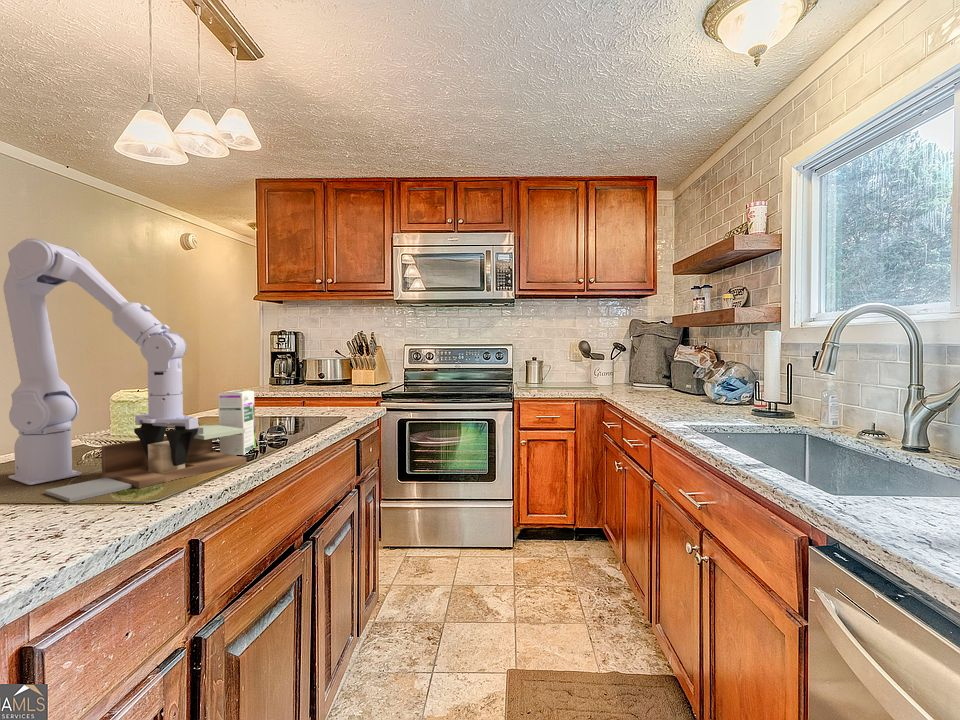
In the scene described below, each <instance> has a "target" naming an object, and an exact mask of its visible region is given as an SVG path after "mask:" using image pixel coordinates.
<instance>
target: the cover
mask: <svg viewBox="0 0 960 720" xmlns="http://www.w3.org/2000/svg"><path fill="white" fill-rule="evenodd" d="M240 433H245V429H242V428H235V427H228V426H221V425H219V424H214V423H213V424H212V423H210V424H203V425H198V432H197V434H196V435H195V437H194V438H196V439H202V440H206V439H212V440H213V439H216V438H217V439H218V438H220V437H223V436H229V435H234V434H240Z"/></svg>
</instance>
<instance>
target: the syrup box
mask: <svg viewBox="0 0 960 720" xmlns="http://www.w3.org/2000/svg"><path fill="white" fill-rule="evenodd" d="M217 398H218V399H217V400H218V401H217V402H218V403H217V404H218V405H217V406H218V425H221V426H228V427H235V428H242V429H245V433H240V434H234V435H229V436H223V437H219V453H225V454H230V455H245V454H246V453H248V452H249V451H250V450H252V449H253V448H256V449H257V442H256V439H257V438H256V437H257V436H256V417H255V416H256V415H255V414H256V411H255V409H256V408H255V407H256V405H255V391H254V390H250V389H249V390H248V389H235V390H230V391H224V392H219V393H217ZM248 454H249V453H248ZM246 455H247V454H246ZM246 455H245V456H246Z"/></svg>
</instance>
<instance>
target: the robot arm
mask: <svg viewBox="0 0 960 720" xmlns="http://www.w3.org/2000/svg"><path fill="white" fill-rule="evenodd" d="M7 255H8V261H9V267H8V270H7V273H6V275H5V279H4V280H3V286H2V287H3V289H2V290H3V294H4V299H5V300H4V301H5V305H6V310H7V315H8V321H9V326H10V331H11V336H12V337H11V338H12V341H13V346H14V352H15V357H16V361H17V369H18V372H19V379H20V383H19V384H18V386H17V387H16V388H15V389H14V390H13V392H12V393H11V395H10V396H11V401H12V402H11V407H10V410H9V412H8V414H9V415H8V418H9V421H10V424H11V425H12V427H13V428H15V429H16V430H17V431H18V435H19V436H18V437H17V438H16V440H15V442H14V448H13V449H14V473H15V474H11V475H8V479H10V480H13V481H17V482H19V483H22V484H25V485H27V486H33V485H38V484H44V483H47V482H49V483H50V482H54V481H59V480H62V479H69V478H72V477H73V478H74V477H79V476H82V475H83V472H82V471H78V470H74V469H73V450H72V447H73V445H72V422H73V421H75V420H76V419H77V418H78V415H79V413H80V407H79V403H78V401H77V399H76V398H74V396H73V395H72V393H71V388H70V385H68V384H67V382H65V381H64V380H63V379H62V378H61V377H60V373H59V369H58V361H57V356H56V351H55V345H54V341H53V334H52V329H51V323H50V319H49V313H48V309H47V308H48V307H47V303H46V296H47V295H48V294H49V293H50V292H51V291H53V290H54V289H55V288H56V287H58V286H61V285H63V284H65V283H67V282H72V283H74V284H76V285H78V286H79V287H81V289H82V290H84V291H85V292H86V293H88V294H89V295H90V296H91V297H93V298H94V299H95V300H97V302H98V303H100V304H101V305H103V306H104V308H106V309H107V310H109V311H110V312H111V313H112V314H111V319H112V323H113V324H114V325H115V326H116V327H117V328H119V329H120V330H121V331H122V332H123V333H124V334H125V335H126V336H128V338H130V340H132V341H133V342H134V343H135V344H137V346H139V349H140V353H141V355H142V357H143V358H144V359H145V360H146V362H147V402H148V403H147V404H148V406H147V408H148V409H147V410H148V411H147V412H148V413H142V414H141V413H140V414H135V415H134V416H135V417H134V421H135V422H134V424H135V425H136V426H140V425H141V426H140V427H135V428H134V429H133V431H134V434H135V435H136V436H137V437H138V440H140V441H141V443H142V445H143V447H144V450H145V453H146V456H147V459H148V444H153V443H159V442H163V439H164V436H167V438H168V441H169V444H170V448H171V457H172V463H173V466H178V465H182V464H185V462H186V458H187V454H188V451H189V448H190V445H191V443H192V440H193V439H194V437H195V435H196V434H197V432H198V426H199V419H198V417H192V416H189V415H185V414H184V398H183V397H184V395H183V391H184V388H183V385H184V384H183V357H184V356H185V354H186V352H187V349H188V348H187V347H188V346H187V343H186V341H185V339H184V338H183V337H182V335H181V334H179V333H178V332H173V331H169V330H170V329H171V327H170V326H169V325H167V324H163V323H162V322H161V321H160V320H158V319H157V317H155V316H154V315H153V314H152V313H151V311H152V308H150V307H149V306H148V305H145V304H141V303H140V302H133V301H132V302H131V301H130V302H129V301H128V300H127V299H126V298H125V297H124V296H123V295H122V294H121V293H120V292H119V291H118V290H117V289H116V288H115V287H114V286H113V285H112V283H110V282H109V280H108V279H106V278H105V277H104V276H103V275H102V273H100V271H98V270H97V269H96V268H95V267H94V265H93V264H92V263H91V262H90V260H88V259H87V258H85V257H83V256H81V254H80V253H79V252H78V251H76V250H75V249H73V248H70V247H67V246H60V245H57V244H53V243H51V242H48V241H47V242H46V241H45V240H42V239H40V238H35V237H34V238H32V237H31V238H25V239H23V240H21V241H20V242H18V243H17V244H16V245H15V246H14V247H12V249H10V250H9V251H8V253H7ZM168 427H169V428H172V429H168Z"/></svg>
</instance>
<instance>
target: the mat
mask: <svg viewBox="0 0 960 720" xmlns="http://www.w3.org/2000/svg"><path fill="white" fill-rule="evenodd" d="M128 489H132V484H128V483H124V482H121V481H117V480H113V479H109V478H102V477H100V478H97V479H92V480H91V479H90V480H88V481H87V480H86V481H82V482H78V483H73V484H68V485H63V486H59V487H54V488H49V489H45V490H44V494H45V495H48V496H51V497H54V498H57V499H60V500H62V501H65V502H68V503H72V502H77V501H82V500H85V499H91V498H94V497H99V496H103V495H107V494H110V493H115V492H119V491H124V490H128Z"/></svg>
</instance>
